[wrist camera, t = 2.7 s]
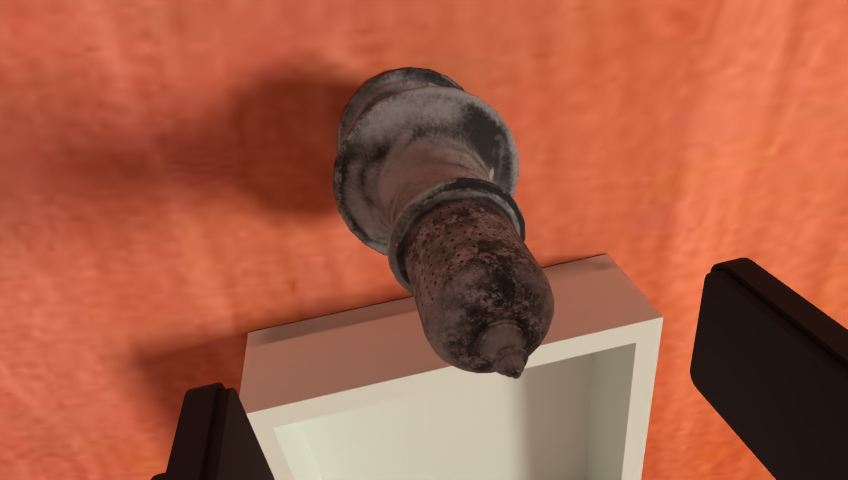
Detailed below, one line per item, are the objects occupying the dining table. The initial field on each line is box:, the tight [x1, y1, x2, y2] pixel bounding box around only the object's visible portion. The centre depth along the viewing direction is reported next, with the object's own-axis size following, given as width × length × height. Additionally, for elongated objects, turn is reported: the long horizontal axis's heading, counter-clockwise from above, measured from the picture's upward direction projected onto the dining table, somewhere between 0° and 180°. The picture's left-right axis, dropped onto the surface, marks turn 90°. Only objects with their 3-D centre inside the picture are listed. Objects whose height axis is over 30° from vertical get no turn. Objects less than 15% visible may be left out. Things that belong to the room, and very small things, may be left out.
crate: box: [239, 254, 663, 480], centre depth 26 cm, size 16×16×4 cm
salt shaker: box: [333, 67, 554, 379], centre depth 15 cm, size 6×6×12 cm
